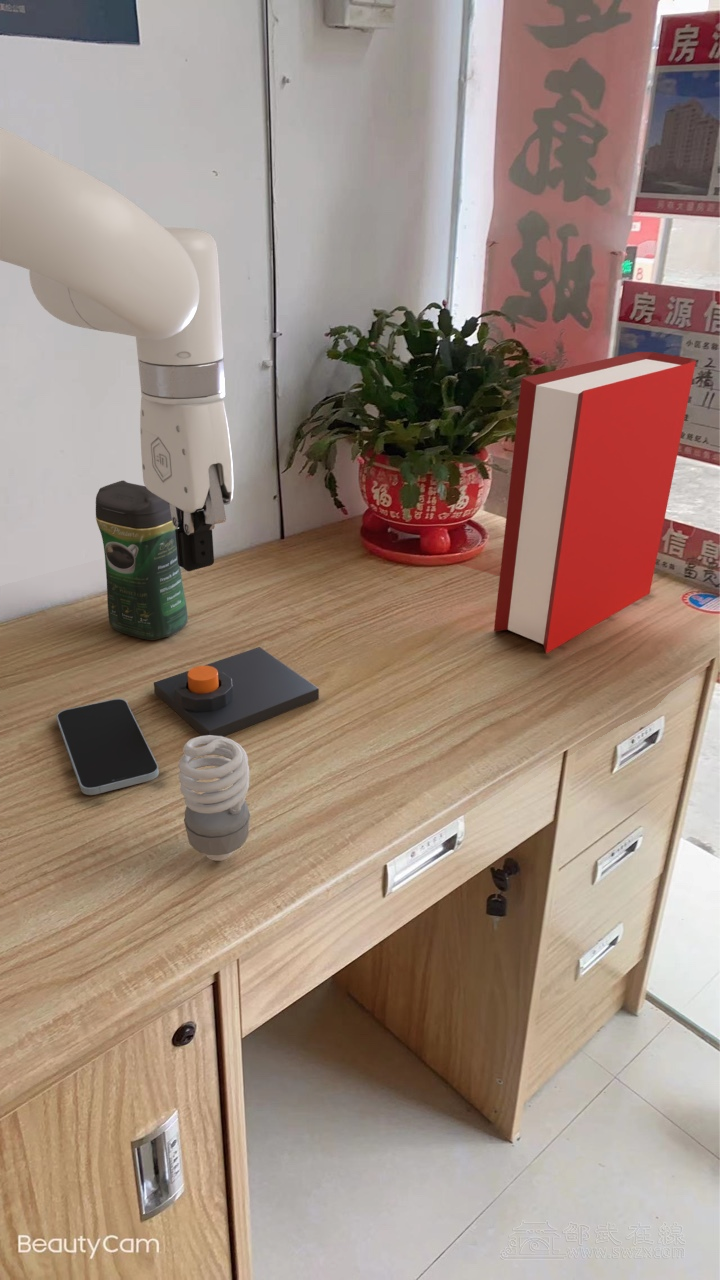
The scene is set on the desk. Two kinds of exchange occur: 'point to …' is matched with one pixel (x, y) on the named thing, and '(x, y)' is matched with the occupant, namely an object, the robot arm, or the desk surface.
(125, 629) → the coffee jar
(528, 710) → the desk surface
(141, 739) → the smartphone
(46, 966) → the desk surface
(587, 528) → the book
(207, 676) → the button
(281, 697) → the black button base
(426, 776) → the desk surface
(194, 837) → the light bulb
